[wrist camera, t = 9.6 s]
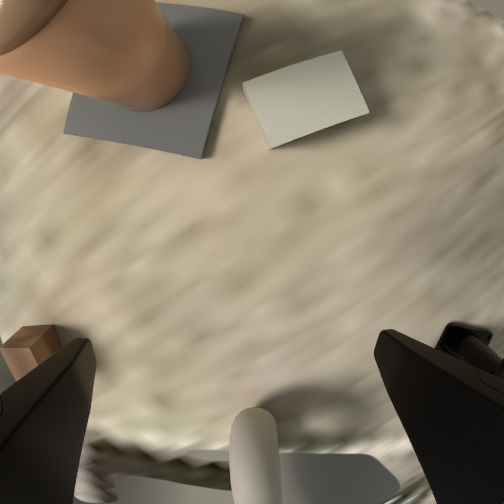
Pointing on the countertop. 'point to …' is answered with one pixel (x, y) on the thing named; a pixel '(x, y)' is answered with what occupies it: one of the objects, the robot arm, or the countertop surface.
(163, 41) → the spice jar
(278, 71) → the grey box
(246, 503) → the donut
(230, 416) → the countertop surface
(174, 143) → the slate coaster
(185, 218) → the countertop surface
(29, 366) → the walnut cube
